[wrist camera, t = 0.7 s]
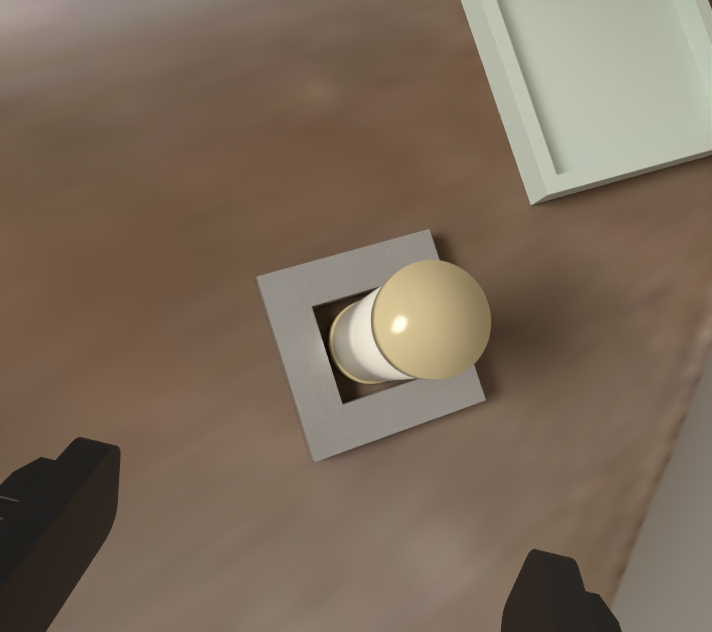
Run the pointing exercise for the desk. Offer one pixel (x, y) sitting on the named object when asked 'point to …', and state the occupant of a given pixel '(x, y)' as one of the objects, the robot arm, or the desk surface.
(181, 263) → the desk surface
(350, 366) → the cartridge fuse
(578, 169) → the parts tray
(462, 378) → the fuse holder
